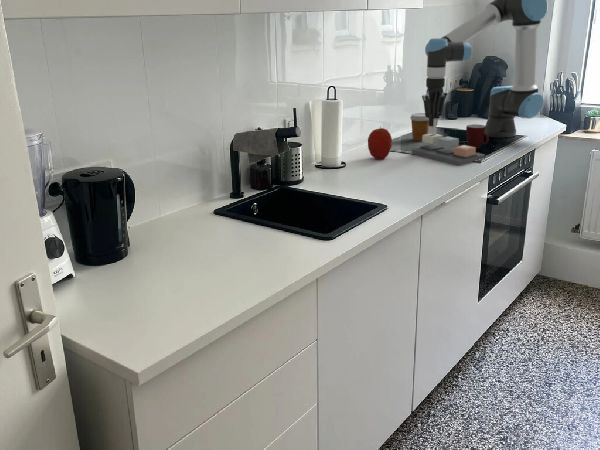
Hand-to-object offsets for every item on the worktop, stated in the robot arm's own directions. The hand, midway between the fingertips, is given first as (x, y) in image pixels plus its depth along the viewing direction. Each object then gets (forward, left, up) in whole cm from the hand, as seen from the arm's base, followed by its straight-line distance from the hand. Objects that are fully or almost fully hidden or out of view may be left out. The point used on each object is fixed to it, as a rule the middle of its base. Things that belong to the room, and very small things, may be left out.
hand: (432, 133), depth 255 cm
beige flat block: (0, +18, -6) cm, 19 cm away
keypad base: (0, +9, -8) cm, 12 cm away
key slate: (0, +9, -4) cm, 10 cm away
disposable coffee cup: (-14, -21, -9) cm, 27 cm away
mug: (-20, +8, -9) cm, 23 cm away
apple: (+24, -7, -9) cm, 26 cm away
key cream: (0, 0, -4) cm, 4 cm away
